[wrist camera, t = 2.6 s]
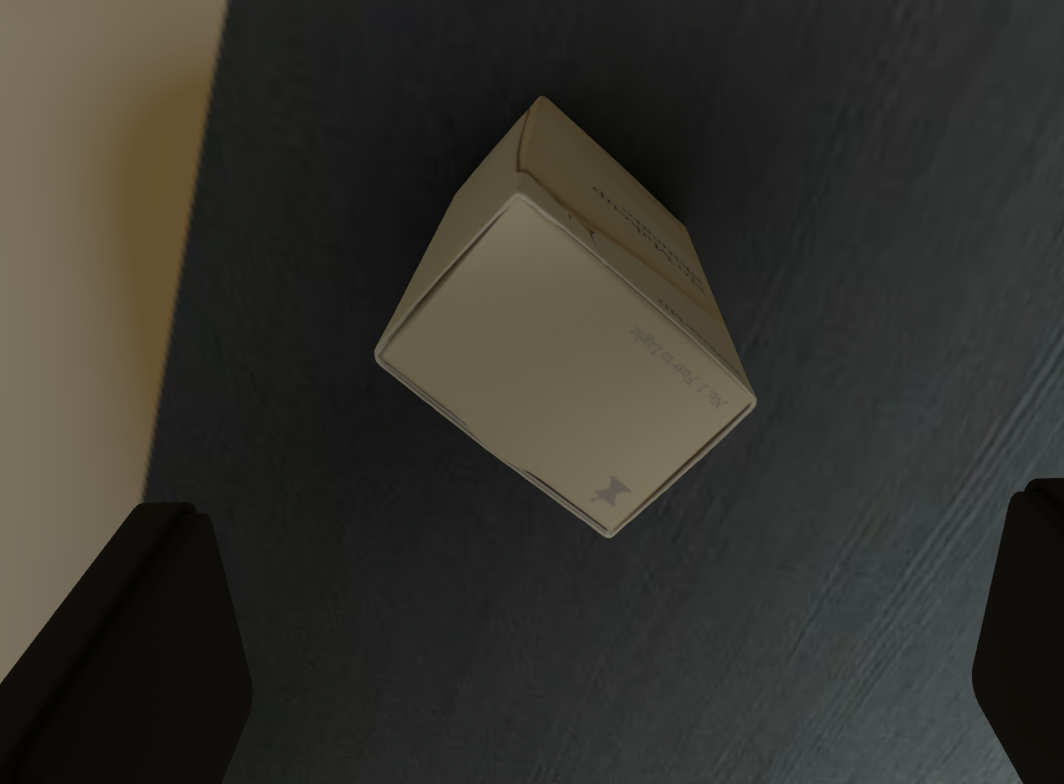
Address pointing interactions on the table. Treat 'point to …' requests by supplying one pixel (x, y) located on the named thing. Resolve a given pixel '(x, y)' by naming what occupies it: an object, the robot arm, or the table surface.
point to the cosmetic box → (569, 326)
